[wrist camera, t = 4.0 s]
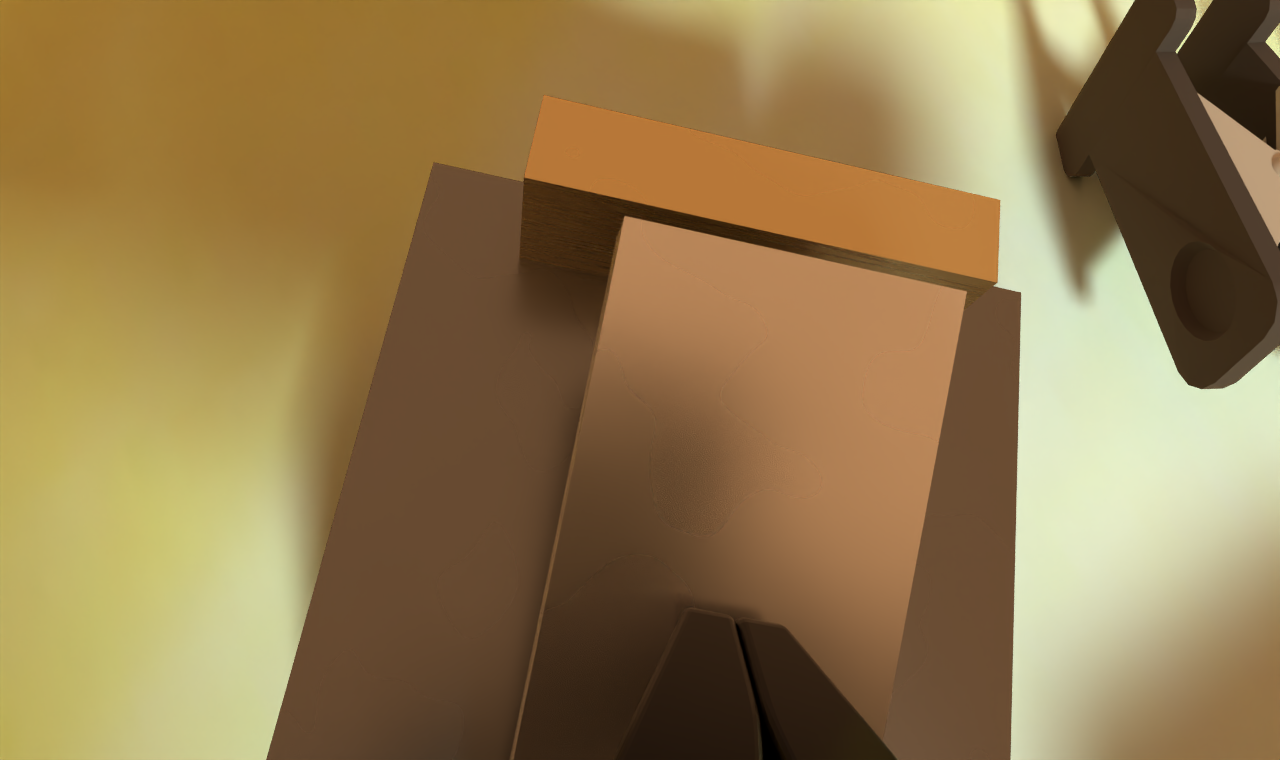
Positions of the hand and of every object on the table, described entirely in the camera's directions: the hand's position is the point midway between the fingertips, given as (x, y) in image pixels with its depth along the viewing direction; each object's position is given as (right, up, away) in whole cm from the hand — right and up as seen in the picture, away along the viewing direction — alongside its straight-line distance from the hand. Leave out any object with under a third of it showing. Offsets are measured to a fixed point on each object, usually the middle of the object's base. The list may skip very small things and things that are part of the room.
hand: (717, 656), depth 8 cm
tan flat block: (0, 0, +1) cm, 1 cm away
